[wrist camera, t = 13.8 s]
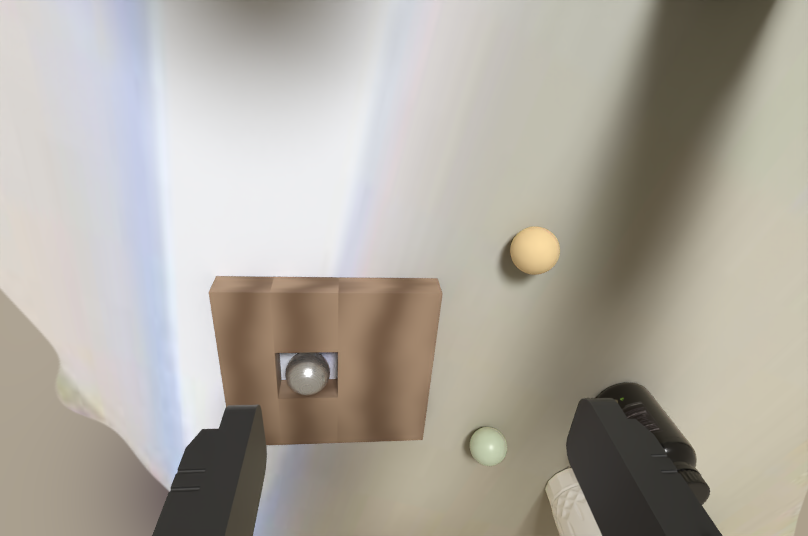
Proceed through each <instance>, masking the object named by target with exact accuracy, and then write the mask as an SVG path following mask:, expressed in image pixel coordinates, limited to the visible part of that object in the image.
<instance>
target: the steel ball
mask: <svg viewBox="0 0 808 536" xmlns="http://www.w3.org/2000/svg"><path fill="white" fill-rule="evenodd" d="M329 376H330V368H329V364H328V362H327V361H326V359H325V358H324V357H323V356H322V355H321V354H319V353H317V352H308V353H298V354H296V355H295V356H294V357H293V358H292V359H291V360H290V361H289V363H288V365H287V368H286V380H287V383H288V385H289V386H290V388H291V389H292V390H293V391H295V392H296V393H298V394H301V395H313V394H316V393H318V392H319V391H321V390H322V389H323V388H324V387H325V386H326V384H327V382H328V380H329Z"/></svg>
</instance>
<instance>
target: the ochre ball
mask: <svg viewBox="0 0 808 536" xmlns="http://www.w3.org/2000/svg"><path fill="white" fill-rule="evenodd" d="M510 254H511V258H512V261H513V263H514V264H515V265H516V267H517V268H518V269H520V270H521V271H523V272H525V273H528V274H534V275H535V274H542V273H545V272H547V271H549V270H550V269H551V268H552V267H553V266H554V265H555V264H556V262H557V260H558V258H559V254H560V247H559V243H558V240H557V239H556V237H555V236H554V235H553V233H551V232H550V231H549V230H547V229H545V228H541V227H529V228H526V229H524V230H522V231H520V232H519V233H518V234H517V235H516V236H515V237H514V239H513V241H512V243H511V248H510Z"/></svg>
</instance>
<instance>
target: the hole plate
mask: <svg viewBox="0 0 808 536" xmlns="http://www.w3.org/2000/svg"><path fill="white" fill-rule="evenodd" d="M209 297H210V304H211V311H212V317H213V324H214V330H215V337H216V343H217V350H218V356H219V363H220V369H221V376H222V383H223V389H224V396H225V402H226V407H227V406H228V405H260V406H261V410H262V417H263V425H264V432H265V440H266V445H288V444H317V443H346V442H375V441H404V440H423V433H424V426H425V418H426V411H427V404H428V396H429V389H430V382H431V374H432V367H433V360H434V352H435V345H436V337H437V330H438V323H439V315H440V308H441V301H442V291H441V288H440V285H439V281H438V279H435V278H336V277H236V276H216V278H215V280H214V282H213V284H212V286H211V288H210V291H209ZM308 352H338V379H329V380H328V382H327V384H326V386H325V387H324V388H323V389H322V390H321V391H319V392H318V393H316V394H313V395H301V394H298V393H296V392H295V391H293V390H292V389H291V388H290V386H289V385H288V383H287V380H281V368H280V354H279V353H308Z"/></svg>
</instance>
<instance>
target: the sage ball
mask: <svg viewBox="0 0 808 536" xmlns="http://www.w3.org/2000/svg"><path fill="white" fill-rule="evenodd" d="M470 451H471V454H472V456H473V458H474V459H475V460H476V461H477V462H478V463H480V464H482V465H484V466H495V465H497V464H499V463H500V462H502V460H503V459H504V458H505V456H506V453H507V443H506V440H505V438H504V436H503V435H502V434H501V433H500V432H499V431H498V430H496V429H494V428H491V427H483V428H480V429H478V430H477V431H476V432H475V433H474V434H473V435H472V437H471V440H470Z"/></svg>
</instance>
